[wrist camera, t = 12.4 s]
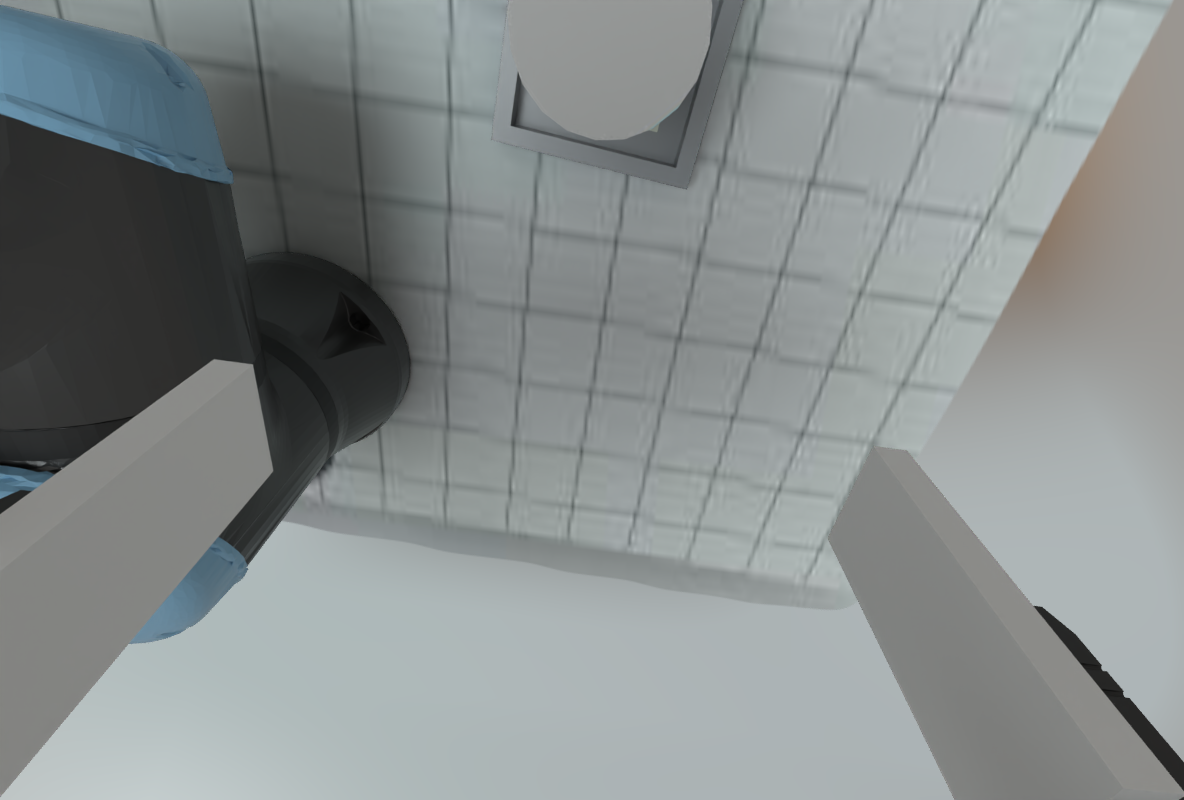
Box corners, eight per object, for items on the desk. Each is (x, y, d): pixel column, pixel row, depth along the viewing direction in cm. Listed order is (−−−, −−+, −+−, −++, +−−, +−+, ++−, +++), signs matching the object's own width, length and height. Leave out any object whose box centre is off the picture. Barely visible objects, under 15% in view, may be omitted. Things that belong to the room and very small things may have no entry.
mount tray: (498, 136, 34) (491, 140, 32) (529, -116, 28) (523, -129, 26) (683, 183, 35) (686, 189, 33) (752, -51, 29) (761, -60, 27)
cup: (530, 52, 31) (466, 33, 18) (613, -59, 29) (607, -173, 16) (613, 142, 33) (609, 182, 20) (698, 47, 31) (755, 23, 18)
